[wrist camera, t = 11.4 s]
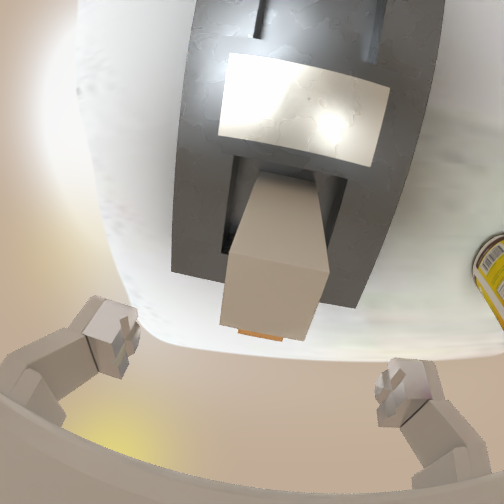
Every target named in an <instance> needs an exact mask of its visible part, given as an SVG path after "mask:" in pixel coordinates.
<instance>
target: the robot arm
mask: <svg viewBox="0 0 504 504" xmlns="http://www.w3.org/2000/svg"><path fill="white" fill-rule="evenodd" d="M137 318H138V312H137V309H136V308H134V307H131V306H128V305H124V304H121V303H118V302H115V301H112V300H109V299H105V298H102V297H99V296H96V295H94V296H92V297H90V299H89V300H88V301H87V303H86V304H85V305H84V307H83V308H82V309H81V311H80V312H79V314H78V315H77V316H76V318H75V319H74V320H73V322H72V323H71V325H70V326H69V327H68V329H67V328H62V329H60V330H58V331H56V332H53V333H52V334H49V335H47V336H45V337H43V338H41V339H39V340H37V341H35V342H32V343H30V344H28V345H26V346H24V347H22V348H20V349H18V350H16V351H14V352H12V353H10V354H8V355H7V356H6V358H5V359H4V360H3V362H2V363H1V365H0V504H504V470H503V471H500V472H496V473H493V474H492V472H491V467H490V461H489V457H488V452H487V447H486V443H485V441H484V440H483V439H482V438H481V437H480V436H479V434H478V433H477V432H476V431H475V430H474V428H473V427H472V426H471V425H470V424H469V423H468V422H467V420H466V419H465V418H464V417H463V416H462V415H461V414H460V412H459V411H458V410H457V409H456V408H455V407H454V406H453V404H452V403H451V402H450V401H449V400H445V397H444V394H443V390H442V386H441V382H440V379H439V376H438V372H437V369H436V365H435V363H434V362H433V361H428V360H418V359H405V358H393V359H391V360H390V362H389V363H388V370H386V371H384V372H382V373H381V374H380V376H379V377H378V379H377V382H376V386H375V398H376V400H377V401H378V403H379V404H380V406H379V407H378V409H377V416H378V426H379V427H394V428H400V430H401V432H402V433H403V435H404V437H405V438H406V440H407V442H408V443H409V445H410V446H411V448H412V449H413V451H414V453H415V454H416V456H417V458H418V459H419V461H420V463H421V464H422V466H423V468H424V469H423V470H421V471H420V472H418V473H416V474H415V475H414V476H413V477H412V490H404V491H394V492H380V493H360V494H324V493H302V492H288V491H279V490H270V489H262V488H255V487H247V486H241V485H235V484H230V483H224V482H219V481H214V480H209V479H205V478H201V477H197V476H192V475H188V474H184V473H180V472H177V471H173V470H170V469H166V468H163V467H159V466H156V465H153V464H150V463H147V462H144V461H141V460H138V459H135V458H132V457H129V456H126V455H123V454H121V453H118V452H115V451H113V450H111V449H108V448H106V447H103V446H101V445H98V444H96V443H93V442H91V441H89V440H87V439H84V438H82V437H80V436H78V435H76V434H73V433H71V432H69V431H67V430H65V429H63V428H61V426H62V424H63V422H64V420H65V418H66V414H65V412H64V410H63V409H62V407H61V406H60V404H59V403H58V401H59V400H60V399H62V398H63V397H65V396H66V395H68V394H69V393H70V392H72V391H73V390H75V389H76V388H78V387H79V386H81V385H82V384H84V383H85V382H86V381H88V380H89V379H91V378H92V377H93V376H95V375H96V374H98V372H101V373H103V374H106V375H109V376H112V377H115V378H119V379H122V377H123V375H124V373H125V371H126V369H127V367H128V365H129V361H128V357H129V356H130V355H132V354H134V353H135V351H136V349H137V346H138V343H139V339H140V326H139V325H138V324H137V322H136V320H137Z"/></svg>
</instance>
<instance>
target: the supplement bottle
mask: <svg viewBox="0 0 504 504" xmlns="http://www.w3.org/2000/svg"><path fill="white" fill-rule="evenodd" d="M473 278H474V282H475V284H476V285H477V287H478V289H479V290H480V292H481V293H482V295H483V297H484V298H485V300H486V301H487V303H488V305H489V306H490V308H491V310H492V311H493V313H494V315H495V316H496V318H497V320H498V322H499V323H500V325H501V327H502V329H503V331H504V235H499V236H496V237H494V238H492V239H491V240H489V241H488V242H487V243H486V244H485V245H484V246H483V247H482V249H481V250H480V251H479V253H478V255H477V257H476V259H475V262H474V266H473Z"/></svg>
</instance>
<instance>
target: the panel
mask: <svg viewBox="0 0 504 504" xmlns="http://www.w3.org/2000/svg"><path fill="white" fill-rule="evenodd" d="M444 5H445V0H197V2H196V7H195V13H194V18H193V24H192V30H191V36H190V42H189V49H188V55H187V62H186V69H185V77H184V85H183V93H182V102H181V111H180V120H179V130H178V141H177V153H176V167H175V182H174V199H173V221H172V257H171V272H175V273H180V274H184V275H189V276H193V277H198V278H202V279H207V280H212V281H216V282H221V283H225V278H226V270H227V263H228V256H229V251H230V248H231V245H232V243H233V240H234V237H235V235H236V232H237V229H238V227H239V224H240V221H241V219H242V216H243V213H244V211H245V208H246V206H247V203H248V200H249V198H250V195H251V192H252V190H253V187H254V185H255V182H256V179H257V177H258V174H259V172H260V171H264V172H269V173H274V174H279V175H284V176H289V177H293V178H298V179H303V180H307V181H312V182H316V187H317V192H318V198H319V204H320V210H321V216H322V222H323V229H324V236H325V242H326V249H327V256H328V264H329V271H330V273H329V276H328V279H327V282H326V284H325V287H324V290H323V293H322V295H321V298H320V301H319V302H321V303H327V304H332V305H338V306H344V307H349V308H356V306H357V304H358V301H359V299H360V297H361V295H362V292H363V290H364V288H365V286H366V283H367V281H368V279H369V276H370V274H371V272H372V269H373V267H374V264H375V262H376V260H377V257H378V255H379V252H380V250H381V247H382V245H383V242H384V239H385V237H386V234H387V232H388V229H389V226H390V224H391V221H392V218H393V215H394V213H395V210H396V207H397V204H398V201H399V198H400V195H401V192H402V189H403V186H404V183H405V180H406V177H407V174H408V171H409V168H410V164H411V161H412V158H413V154H414V151H415V147H416V144H417V140H418V137H419V133H420V129H421V126H422V122H423V118H424V114H425V110H426V106H427V102H428V97H429V93H430V88H431V84H432V79H433V74H434V69H435V64H436V59H437V53H438V47H439V41H440V35H441V28H442V21H443V13H444Z"/></svg>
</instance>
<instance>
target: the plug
mask: <svg viewBox="0 0 504 504" xmlns="http://www.w3.org/2000/svg"><path fill="white" fill-rule="evenodd" d="M329 273H330V271H329V264H328V256H327V249H326V242H325V236H324V229H323V222H322V216H321V210H320V204H319V198H318V192H317V187H316V182H312V181H307V180H303V179H298V178H293V177H289V176H284V175H279V174H274V173H269V172H264V171H260V172H259V174H258V177H257V179H256V182H255V185H254V187H253V190H252V192H251V195H250V198H249V200H248V203H247V206H246V208H245V211H244V213H243V216H242V219H241V221H240V224H239V227H238V229H237V232H236V235H235V237H234V240H233V243H232V245H231V248H230V251H229V256H228V263H227V270H226V278H225V285H224V293H223V301H222V308H221V316H220V324H219V325H223V326H228V327H233V328H237V329H238V333H240V334H244V335H249V336H254V337H259V338H265V339H270V340H275V341H281V342H282V340H283V338H289V339H294V340H300V341H304V340H305V337H306V335H307V332H308V329H309V327H310V324H311V322H312V319H313V317H314V314H315V311H316V309H317V306H318V303H319V301H320V298H321V295H322V293H323V290H324V287H325V284H326V282H327V279H328V276H329Z"/></svg>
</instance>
